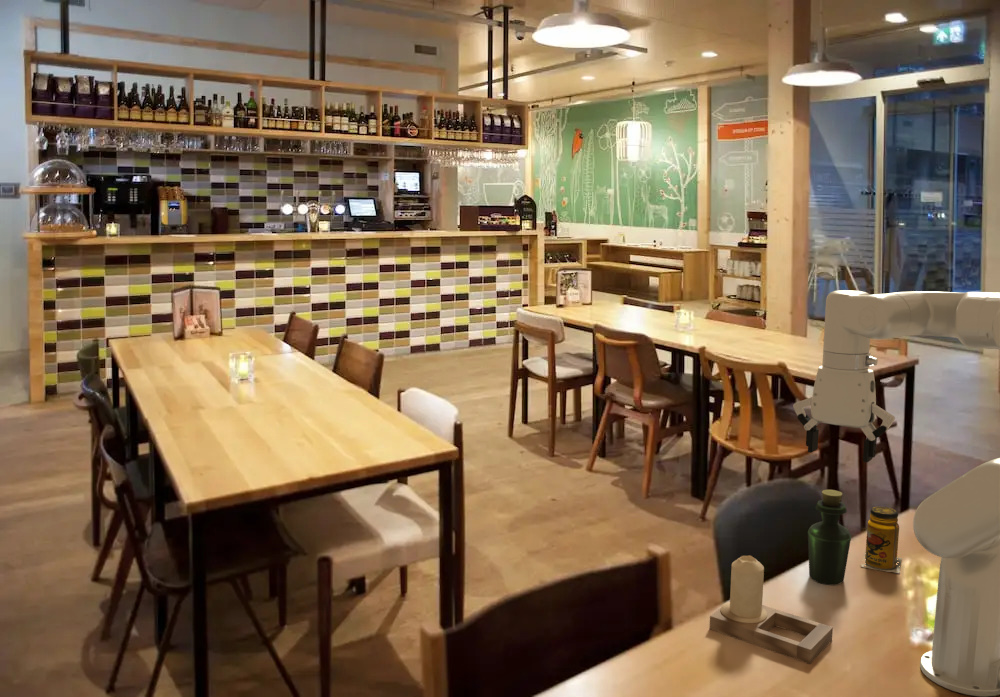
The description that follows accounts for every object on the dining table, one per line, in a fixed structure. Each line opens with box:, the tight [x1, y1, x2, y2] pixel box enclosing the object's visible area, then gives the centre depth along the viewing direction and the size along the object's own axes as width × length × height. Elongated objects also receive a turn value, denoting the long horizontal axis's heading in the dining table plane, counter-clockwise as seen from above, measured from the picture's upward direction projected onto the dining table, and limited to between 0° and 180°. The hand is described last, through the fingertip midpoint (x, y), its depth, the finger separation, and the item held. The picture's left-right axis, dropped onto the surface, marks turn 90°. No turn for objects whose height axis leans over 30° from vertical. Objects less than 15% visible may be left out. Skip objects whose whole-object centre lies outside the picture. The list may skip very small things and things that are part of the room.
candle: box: [729, 555, 765, 618], centre depth 153 cm, size 6×6×10 cm
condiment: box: [860, 506, 903, 574], centre depth 180 cm, size 7×8×12 cm
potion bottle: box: [807, 489, 852, 586], centre depth 172 cm, size 8×8×18 cm
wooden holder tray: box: [709, 600, 834, 665], centre depth 151 cm, size 18×10×3 cm, turn 49°
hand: (839, 455), depth 154 cm, fingers open, 9 cm apart
